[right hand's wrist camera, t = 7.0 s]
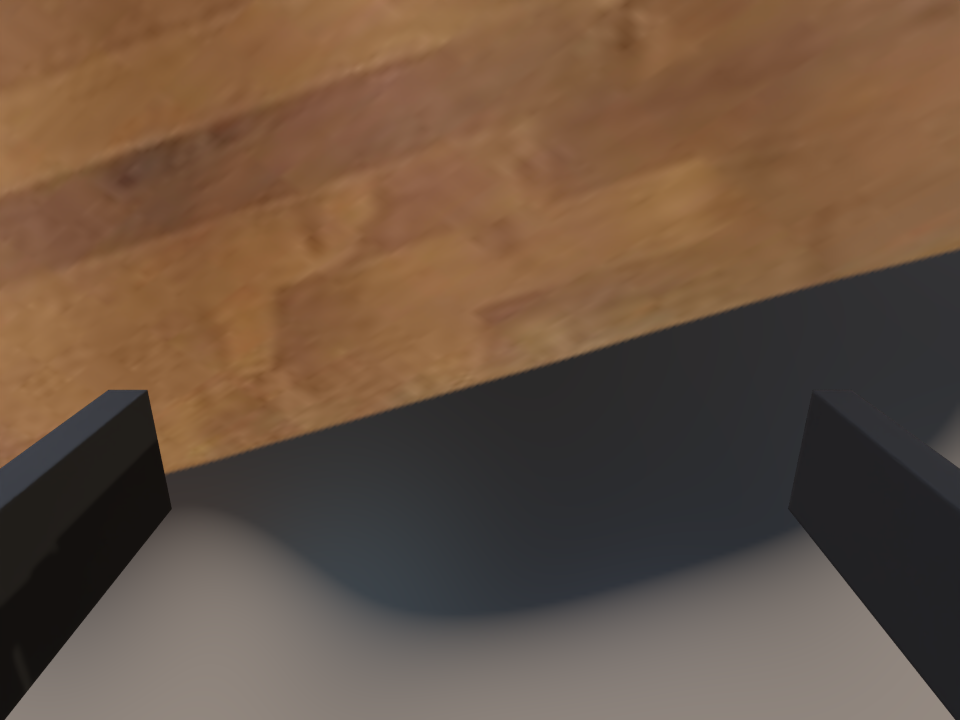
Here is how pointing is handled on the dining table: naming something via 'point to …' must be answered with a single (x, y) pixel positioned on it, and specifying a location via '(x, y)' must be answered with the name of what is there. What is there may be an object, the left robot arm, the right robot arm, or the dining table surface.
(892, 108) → the dining table surface
